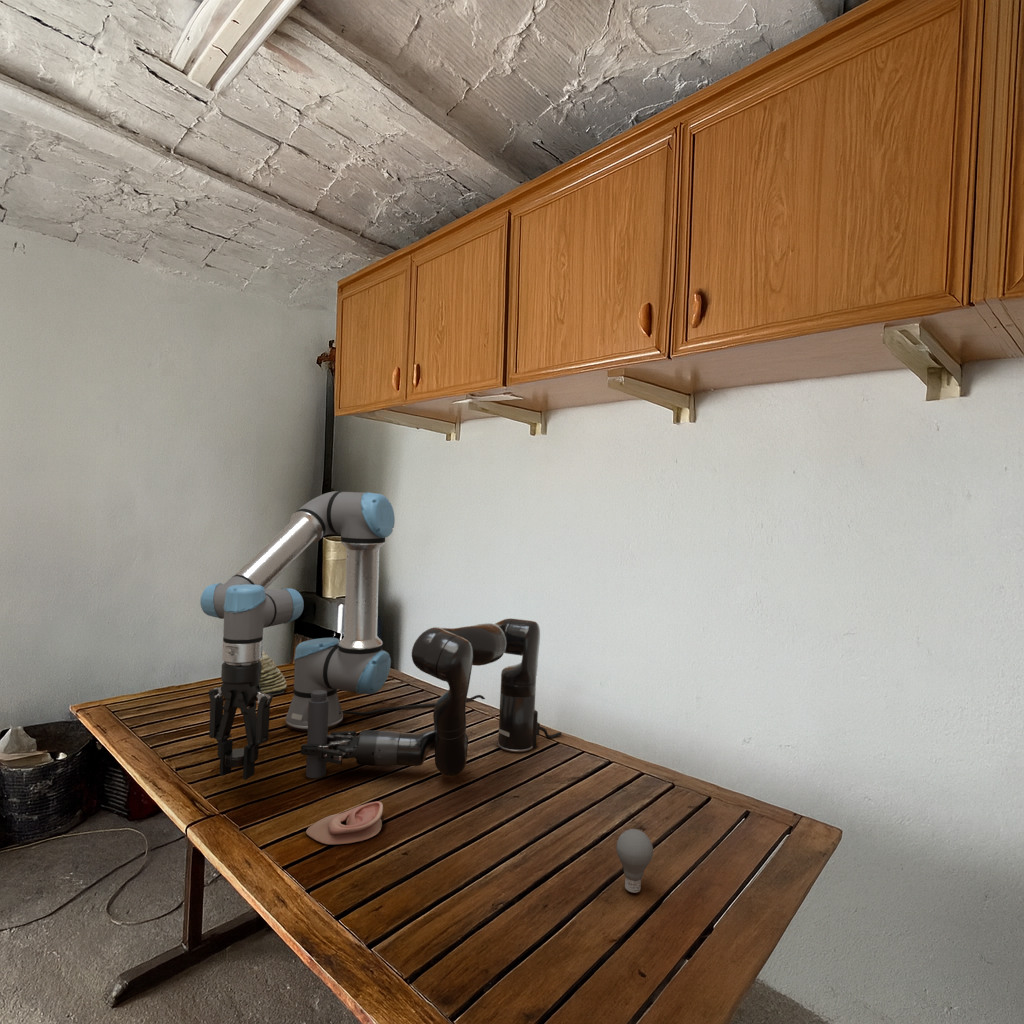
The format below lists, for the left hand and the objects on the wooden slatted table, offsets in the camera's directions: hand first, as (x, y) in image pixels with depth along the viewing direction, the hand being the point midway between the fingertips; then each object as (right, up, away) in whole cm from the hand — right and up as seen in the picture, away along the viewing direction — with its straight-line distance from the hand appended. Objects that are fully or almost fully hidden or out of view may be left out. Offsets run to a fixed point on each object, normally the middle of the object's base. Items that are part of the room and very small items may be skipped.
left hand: (236, 774), depth 129 cm
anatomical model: (+24, -7, -9) cm, 27 cm away
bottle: (+12, -6, +15) cm, 20 cm away
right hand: (+9, +1, +15) cm, 17 cm away
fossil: (-24, -4, +69) cm, 73 cm away
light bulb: (+76, -10, -24) cm, 81 cm away
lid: (0, +4, 0) cm, 4 cm away
